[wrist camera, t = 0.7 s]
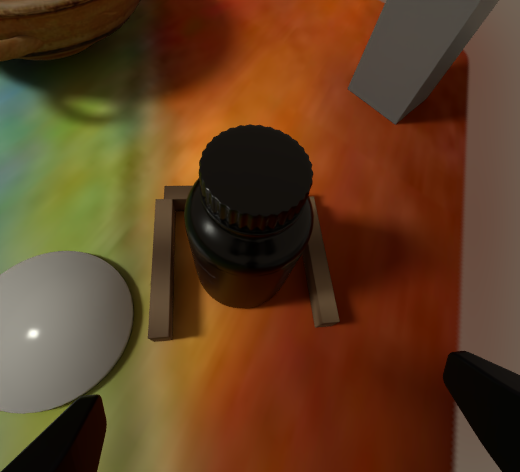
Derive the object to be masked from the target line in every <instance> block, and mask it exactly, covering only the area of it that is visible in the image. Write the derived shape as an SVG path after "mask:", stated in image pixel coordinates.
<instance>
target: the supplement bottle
mask: <svg viewBox="0 0 520 472" xmlns="http://www.w3.org/2000/svg"><path fill="white" fill-rule="evenodd" d="M199 166H200V169H199V178H198V180H197V181H196V182H195V183H194V185H193V186H192V188H191V190H190V192H189V194H188V197H187V200H186V204H185V210H184V218H185V227H186V231H187V236H188V239H189V243H190V247H191V251H192V255H193V259H194V263H195V267H196V270H197V274H198V277H199V280H200V282H201V284H202V286H203V287H204V289H205V290H206V292H207V293H208V294H209V295H210V296H211V297H212V298H213V299H215V300H216V301H218V302H220V303H221V304H224V305H226V306H229V307H233V308H252V307H256V306H259V305H261V304H263V303H265V302H267V301H268V300H270V299H271V298H272V297H273V296H274V295H275V294H276V293H277V292H278V291H279V290H280V288H281V287H282V285H283V284H284V282H285V281H286V279H287V277H288V276H289V274H290V272H291V271H292V269H293V268H294V266H295V264H296V263H297V261H298V259H299V258H300V256H301V254H302V253H303V251H304V249H305V248H306V246H307V244H308V242H309V239H310V237H311V234H312V230H313V224H314V213H313V207H312V203H311V200H310V198H309V191H310V189H311V186H312V177H313V171H312V169H311V168H312V164H311V162H310V161H309V156H308V155H307V154H306V153H305V151H304V148H303V147H302V146H300V145H299V144H298V142H297V141H296V140H294V139H292V138H291V137H290V136H289V135H287V134H284V133H283V132H282V131H280V130H275V129H273V128H271V127H264V126H262V125H256V126H255V125H246V126H242V125H240V126H238V127H236V128H230V129H228V130H227V131H223V132H221V133H220V134H219V135H218V136H216V137H213V139H212V141H211V142H209V143H208V144H207V146H206V149H205V150H204V151H203V152H202V158H201V159H200V161H199Z"/></svg>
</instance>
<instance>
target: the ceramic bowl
mask: <svg viewBox="0 0 520 472" xmlns="http://www.w3.org/2000/svg"><path fill="white" fill-rule="evenodd" d="M139 2H140V0H0V61H6V60H10V59H25V60H54V59H60V58H65V57H69V56H71V55H74V54H77V53H79V52H81V51H83V50H85V49H87V48H88V47H90V46H91V45H92V44H94V43H96V42H98V41H100V40H102V39H104V38H106V37H107V36H109V35H110V34H111V33H113V32H114V31H116V30H117V29H119V28H120V27H121V26H122V25H123V24H124V23H125V22H126V21H127V20H128V19H129V18H130V16H131V15H132V13H133V12H134V10H135V9H136V7H137V5H138V4H139Z"/></svg>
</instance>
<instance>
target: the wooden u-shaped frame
mask: <svg viewBox="0 0 520 472" xmlns="http://www.w3.org/2000/svg"><path fill="white" fill-rule="evenodd" d="M191 188H192V186H165V189H164V199H156V205H155V222H154V240H153V258H152V276H151V293H150V311H149V329H148V339H150V340H152V341H154V342H155V341H166V340H172V333H173V290H174V248H175V211H184V210H185V204H186V200H187V197H188V194H189V192H190V190H191ZM309 198H310V200H311V203H312V207H313V213H314V224H313V230H312V234H311V237H310V239H309V242H308V244H307V246H306V248H305V249H304V251H303V253H302V255H303V260H304V266H305V272H306V278H307V284H308V289H309V295H310V301H311V307H312V313H313V319H314V324H315V327H326V326H332V325H334V324H336V323H338V322H340V321H339V316H338V311H337V306H336V301H335V297H334V292H333V287H332V282H331V277H330V272H329V268H328V263H327V258H326V253H325V248H324V244H323V239H322V234H321V229H320V224H319V219H318V215H317V210H316V205H315V200H314V197H309Z"/></svg>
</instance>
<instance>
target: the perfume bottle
mask: <svg viewBox="0 0 520 472" xmlns="http://www.w3.org/2000/svg"><path fill="white" fill-rule="evenodd" d="M498 1H499V0H387V1H386V3H385V5H384V7H383V10H382V12H381V14H380V17H379V19H378V21H377V23H376V26H375V28H374V30H373V32H372V35H371V37H370V39H369V41H368V44H367V46H366V48H365V50H364V53H363V55H362V57H361V60H360V62H359V64H358V66H357V69H356V71H355V73H354V75H353V78H352V80H351V82H350V84H349V87H348V90H350V91H351V92H352V93H354V94H355V95H356V96H358V97H359V98H361V99H362V100H363V101H365V102H366V103H367V104H369V105H370V106H371V107H373V108H374V109H375V110H377V111H378V112H379V113H381V114H382V115H383V116H385V117H386V118H387V119H389V120H390V121H391V122H393V123H394V124H396V123H398V122H399V121H400V120H401V119H402V118H404V117H405V116H406V115H407V114H409V113H410V112H411V111H412V110H413V109H415V108H416V107H417V106H418V105H419V104H421V103H422V102H423V101H424V100H425V99H427V97H428V96H429V95H430V93H431V92H432V91H433V89H434V88H435V86H436V85H437V84H438V82H439V81H440V80H441V78H442V77H443V76H444V74H445V73H446V72H447V70H448V69H449V68H450V66H451V65H452V63H453V62H454V61H455V59H456V58H457V57H458V55H459V54H460V53H461V51H462V50H463V48H464V47H465V46H466V44H467V43H468V42H469V40H470V39H471V38H472V36H473V35H474V34H475V32H476V31H477V29H478V28H479V27H480V25H481V24H482V22H483V21H484V20H485V19H486V17H487V16H488V15H489V13H490V12H491V11H492V9H493V8H494V7H495V5H496V4H497V2H498Z"/></svg>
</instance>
